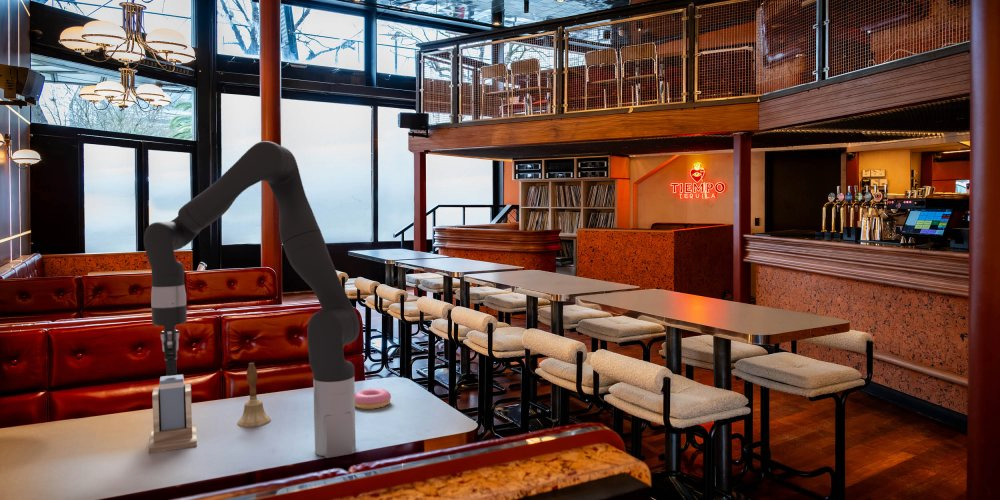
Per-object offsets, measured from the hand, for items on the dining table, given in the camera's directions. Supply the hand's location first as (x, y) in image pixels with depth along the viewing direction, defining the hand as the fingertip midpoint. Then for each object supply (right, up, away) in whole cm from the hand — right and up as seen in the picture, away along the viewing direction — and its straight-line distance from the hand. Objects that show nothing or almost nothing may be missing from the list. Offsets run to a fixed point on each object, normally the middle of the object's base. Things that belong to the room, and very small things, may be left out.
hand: (171, 374), depth 155 cm
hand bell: (+14, -16, +15) cm, 26 cm away
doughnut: (+43, -15, +30) cm, 54 cm away
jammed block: (0, -15, +1) cm, 15 cm away
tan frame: (0, -16, +1) cm, 16 cm away
